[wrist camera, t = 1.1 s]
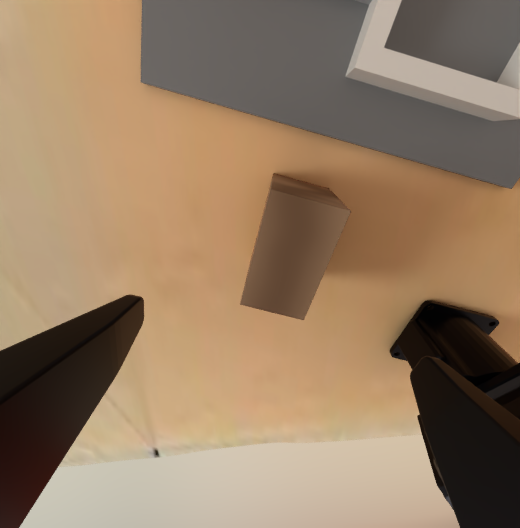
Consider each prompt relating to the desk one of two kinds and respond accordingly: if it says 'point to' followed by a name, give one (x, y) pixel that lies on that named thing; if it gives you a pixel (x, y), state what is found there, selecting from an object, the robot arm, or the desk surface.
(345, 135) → the grey base board
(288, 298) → the block
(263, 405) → the desk surface
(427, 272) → the desk surface
